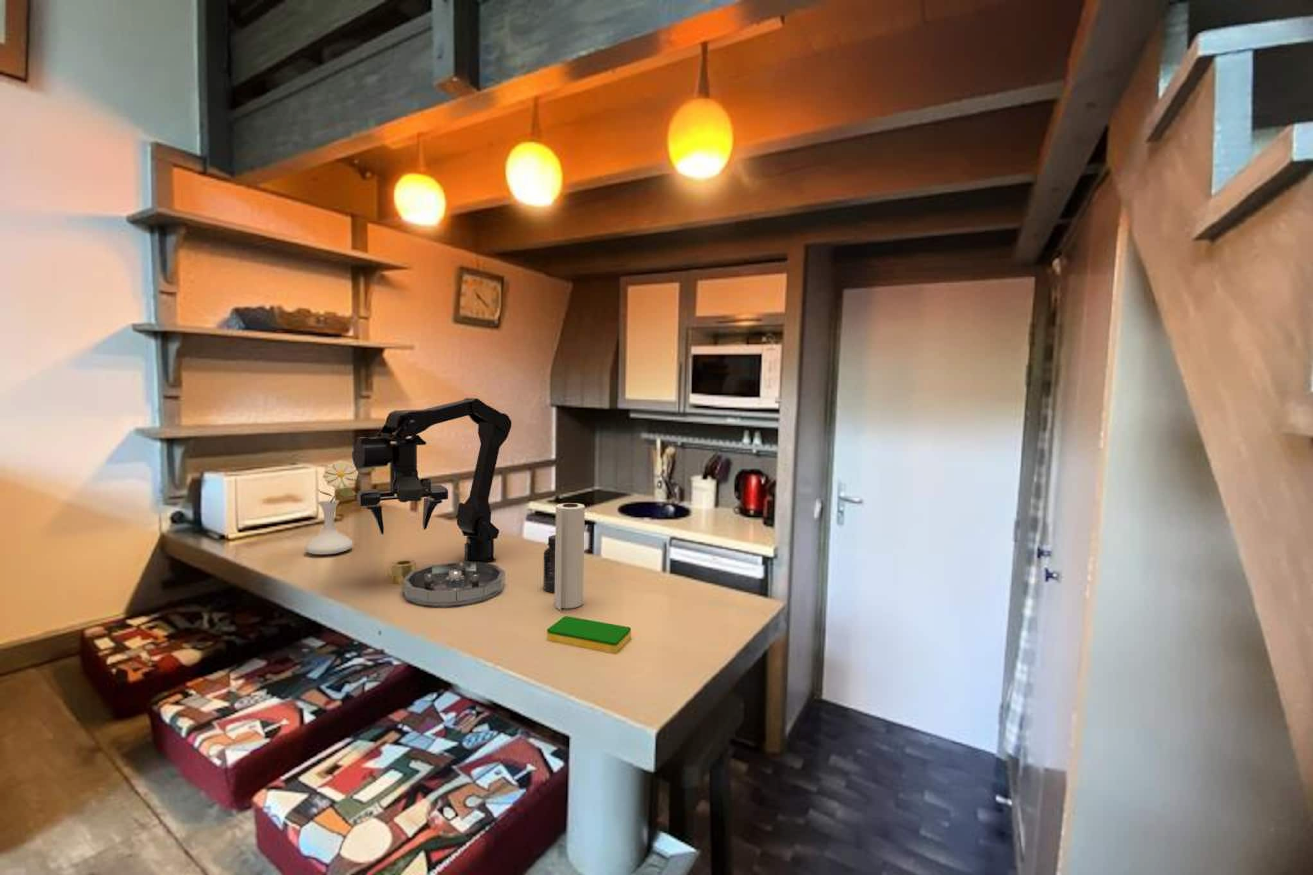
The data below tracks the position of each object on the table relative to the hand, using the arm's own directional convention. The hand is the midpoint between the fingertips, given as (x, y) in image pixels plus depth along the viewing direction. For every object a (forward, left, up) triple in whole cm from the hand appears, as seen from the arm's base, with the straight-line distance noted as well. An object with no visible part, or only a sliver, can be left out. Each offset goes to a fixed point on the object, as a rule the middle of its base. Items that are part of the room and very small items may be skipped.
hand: (403, 531), depth 130 cm
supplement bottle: (-28, +24, -12) cm, 39 cm away
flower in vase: (+11, -33, -12) cm, 37 cm away
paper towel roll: (-25, +34, -12) cm, 44 cm away
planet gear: (0, 0, -11) cm, 11 cm away
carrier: (-8, +13, -11) cm, 19 cm away
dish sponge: (-21, +51, -12) cm, 57 cm away
